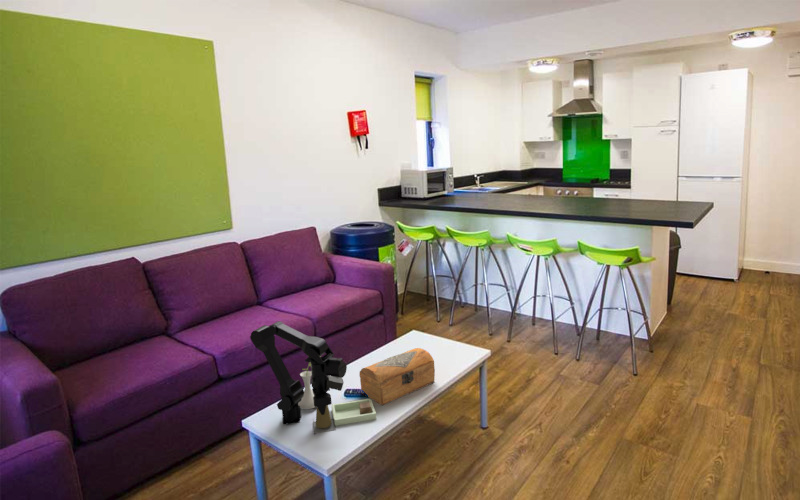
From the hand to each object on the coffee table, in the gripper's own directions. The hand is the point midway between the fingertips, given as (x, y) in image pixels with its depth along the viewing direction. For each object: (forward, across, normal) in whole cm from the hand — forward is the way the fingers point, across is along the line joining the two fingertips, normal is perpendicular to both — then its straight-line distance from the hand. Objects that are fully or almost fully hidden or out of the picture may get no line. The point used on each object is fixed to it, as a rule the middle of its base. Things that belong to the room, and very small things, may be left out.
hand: (322, 411), depth 190 cm
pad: (+6, 0, 0) cm, 6 cm away
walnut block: (+6, +4, -17) cm, 18 cm away
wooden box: (+7, +21, -34) cm, 41 cm away
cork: (+5, 0, 0) cm, 5 cm away
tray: (+6, +5, -12) cm, 15 cm away
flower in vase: (+7, +19, +4) cm, 20 cm away
